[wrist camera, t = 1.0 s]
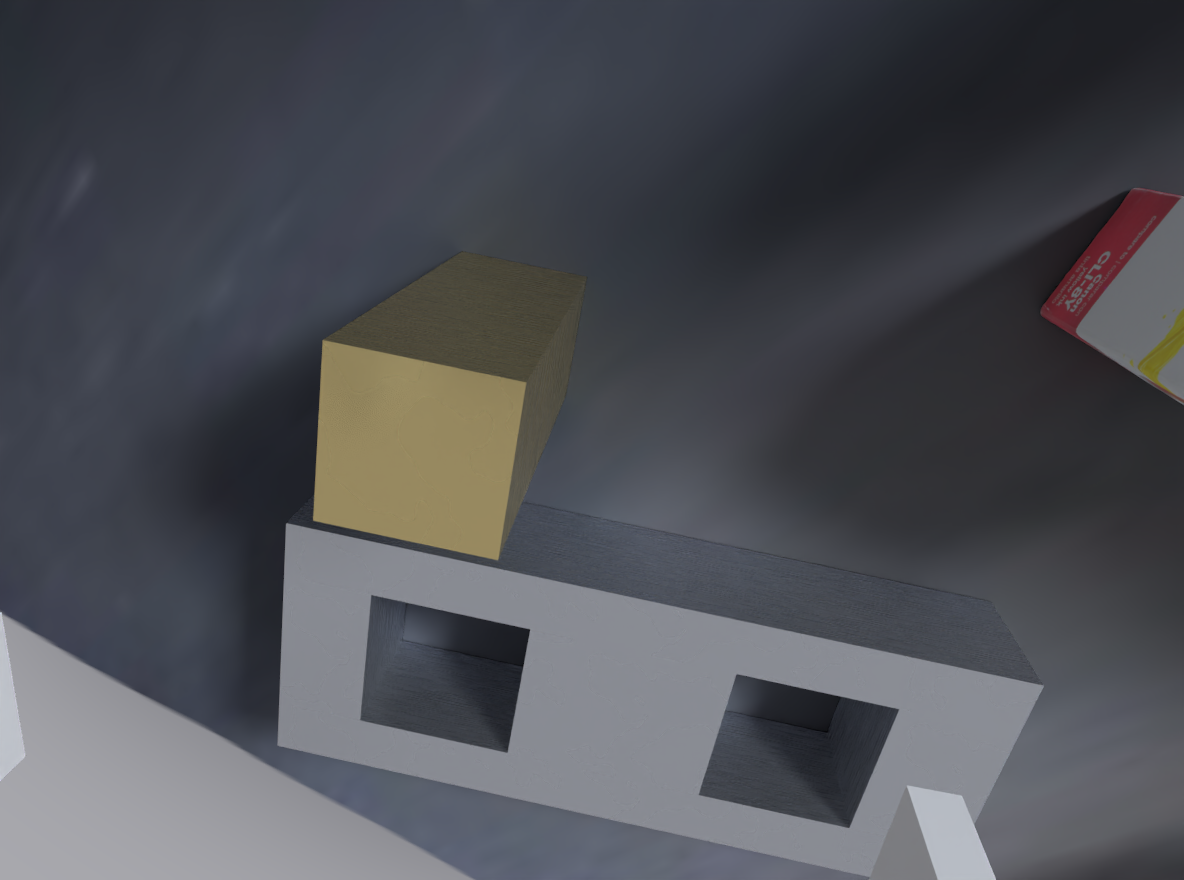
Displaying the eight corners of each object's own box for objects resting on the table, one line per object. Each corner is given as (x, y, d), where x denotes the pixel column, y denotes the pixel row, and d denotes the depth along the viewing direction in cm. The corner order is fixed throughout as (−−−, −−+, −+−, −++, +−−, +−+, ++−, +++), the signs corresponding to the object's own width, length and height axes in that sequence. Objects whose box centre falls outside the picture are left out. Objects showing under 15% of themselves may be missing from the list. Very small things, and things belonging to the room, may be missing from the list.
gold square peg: (462, 251, 29) (322, 339, 17) (587, 277, 28) (526, 382, 17) (448, 371, 30) (313, 520, 19) (565, 395, 30) (498, 560, 19)
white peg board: (342, 464, 32) (286, 523, 28) (990, 601, 32) (1043, 685, 27) (329, 664, 36) (277, 745, 31) (906, 790, 35) (939, 892, 31)
